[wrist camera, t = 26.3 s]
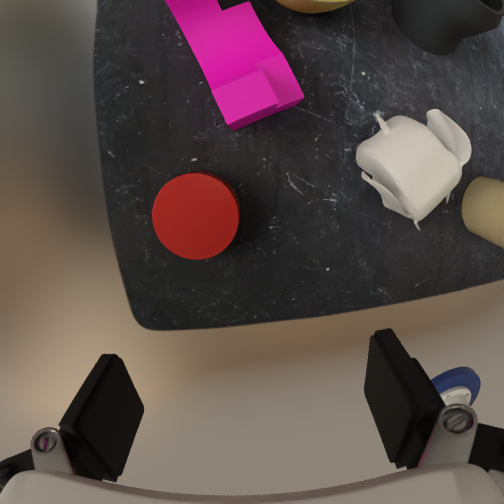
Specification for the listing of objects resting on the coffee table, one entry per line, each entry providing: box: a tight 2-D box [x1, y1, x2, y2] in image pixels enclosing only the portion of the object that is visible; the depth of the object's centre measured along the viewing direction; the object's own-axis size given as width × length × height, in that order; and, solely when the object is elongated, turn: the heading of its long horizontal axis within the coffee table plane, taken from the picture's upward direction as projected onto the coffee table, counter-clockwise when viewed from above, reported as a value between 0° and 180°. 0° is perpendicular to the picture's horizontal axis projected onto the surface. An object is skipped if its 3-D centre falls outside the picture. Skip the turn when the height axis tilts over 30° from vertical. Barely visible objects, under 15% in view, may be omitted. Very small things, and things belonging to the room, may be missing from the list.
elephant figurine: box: [356, 109, 471, 230], centre depth 23 cm, size 10×12×9 cm
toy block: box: [165, 0, 304, 131], centre depth 20 cm, size 15×6×8 cm, turn 24°
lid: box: [152, 171, 240, 260], centre depth 27 cm, size 8×8×2 cm
